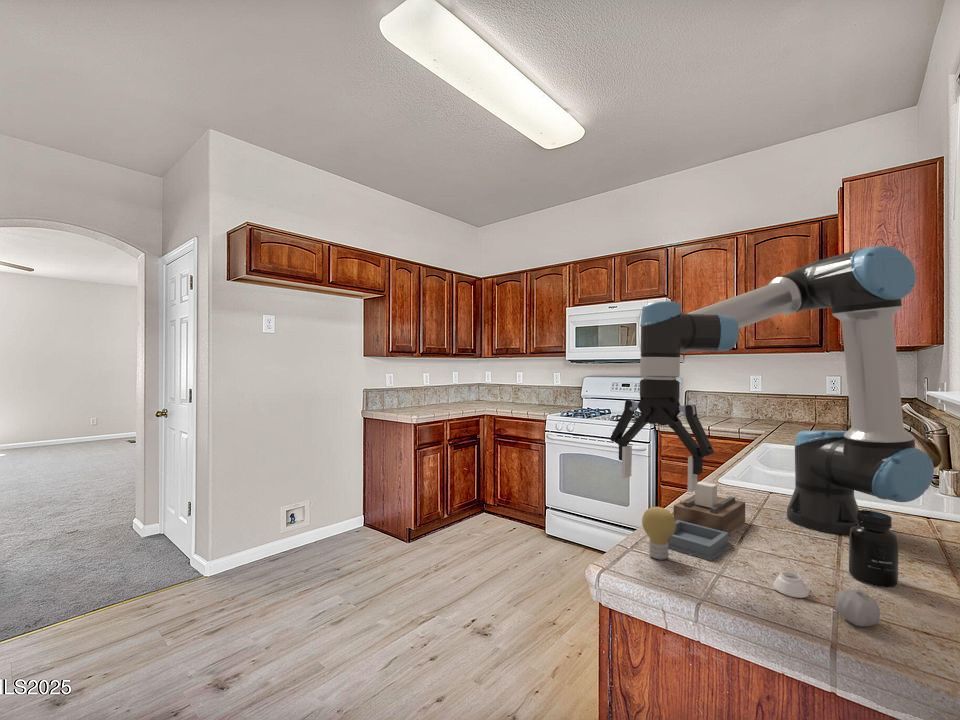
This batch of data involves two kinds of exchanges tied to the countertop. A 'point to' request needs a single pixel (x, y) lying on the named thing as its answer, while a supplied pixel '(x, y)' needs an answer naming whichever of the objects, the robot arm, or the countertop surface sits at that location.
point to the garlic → (857, 607)
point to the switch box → (712, 513)
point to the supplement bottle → (873, 549)
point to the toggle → (706, 494)
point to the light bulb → (658, 530)
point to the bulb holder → (699, 540)
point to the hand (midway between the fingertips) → (657, 483)
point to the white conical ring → (791, 585)
